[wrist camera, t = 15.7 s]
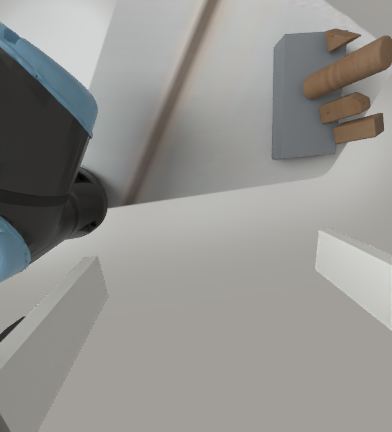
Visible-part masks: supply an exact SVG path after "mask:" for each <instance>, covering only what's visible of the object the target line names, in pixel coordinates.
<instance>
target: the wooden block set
mask: <svg viewBox="0 0 392 432" xmlns="http://www.w3.org/2000/svg"><path fill="white" fill-rule="evenodd" d="M325 34H326V41H327V48H328V52H331V51H334V50H337V49H339V48H341V47H343V46H344V45H346V44H348V43H349V42H351V41H353V40H355V39H356V38H358V37H360V36H361V35H360V34H356V33H352V32H348V31H344V30H340V29H332V30H329V31H326V32H325ZM391 63H392V39H391V37H389V36H383V37H381V38H379V39H377V40H375V41H373V42H371V43H369V44H368V45H366V46H364V47H362V48H360V49H358V50H356V51H354V52H352V53H351V54H349V55H347V56H345V57H343V58H341V59H339V60H337V61H335V62H334V63H332V64H330V65H328V66H326V67H324V68H322V69H320V70H318V71H317V72H315V73H313V74H311V75H309V76H308V77H307V78H306V79H305V81H304V84H303V91H304V94H305V96H306V97H307V98H308V99H315V98H318V97H320V96H322V95H325V94H327V93H330V92H332V91H335V90H337V89H340V88H342V87H344V86H347V85H349V84H352V83H354V82H357V81H359V80H361V79H364V78H366V77H369V76H371V75H374V74H376V73H379V72H381V71H383V70H386V69H387V68H388V67H390V65H391ZM368 108H370V99H369V97H367V96H365V95H363V94H361V93H359V92H354V93H352V94H349V95H346V96H344V97H341V98H338V99H335V100H333V101H330V102H328V103H326V104H324V105H322V106H320V107H319V112H320V117H321V123H322V124H324V123H328V122H332V121H335V120H339V119H342V118H346V117H349V116H353V115H356V114H360V113H362V112H363V111H365V110H367V109H368ZM333 131H334V137H335V143H336V144H339V143H345V142H350V141H356V140H361V139H367V138H372V137H376V136H377V135H379V134H380V133H381V132H383V131H384V123H383V113H378V114H375V115H371V116H367V117H363V118H359V119H356V120H352V121H348V122H344V123H341V124H340V125H338V126H336V127H335V128H334V129H333Z"/></svg>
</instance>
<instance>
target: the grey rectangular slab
mask: <svg viewBox="0 0 392 432" xmlns="http://www.w3.org/2000/svg"><path fill="white" fill-rule="evenodd" d="M345 31H348V30H345ZM345 53H346V45H344V46H343V47H341V48H339V49H337V50H334V51H331V52H328V48H327V41H326V34H325V32H313V33H297V34H285V35H284V36H283V37H282V39H281V40H280V41H279V42H278V43H277V45H276V46H275V47H274V71H273V126H272V159H286V158H296V157H306V156H316V155H326V154H335V148H336V143H335V137H334V131H333V129H334V128H335V127H336V126H338V120H335V121H332V122H328V123H324V124H322V123H321V117H320V112H319V107H320V106H322V105H324V104H326V103H328V102H330V101H333V100H335V99H338V98H341V91H342V88H340V89H337V90H335V91H332V92H330V93H327V94H325V95H322V96H320V97H318V98H315V99H308V98H307V97H306V96H305V94H304V91H303V84H304V81H305V79H306V78H307V77H308V76H309V75H311V74H313V73H315V72H317V71H318V70H320V69H322V68H324V67H326V66H328V65H330V64H332V63H334V62H335V61H337V60H339V59H341V58H343V57H345Z"/></svg>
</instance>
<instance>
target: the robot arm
mask: <svg viewBox="0 0 392 432" xmlns="http://www.w3.org/2000/svg"><path fill="white" fill-rule="evenodd" d="M97 113H98V107H97V104H96V101H95V99H94V98H93V96H92V95H91V93H90V92H89V91H88V90H87V89H86V88H85V87H84V86H83V85H82V84H81V83H80V82H79V81H78V80H77V79H76V78H75V77H73V76H72V75H71V74H70V73H69V72H67V71H66V70H65V69H64V68H63V67H61V66H60V65H59V64H58V63H56V62H55V61H54V60H53V59H51V58H50V57H49V56H47V55H46V54H45V53H43V52H42V51H41V50H40V49H38V48H37V47H35V46H34V45H33V44H31V43H30V42H28V41H27V40H26V39H23V38H20V37H19V36H18V35H17V34H16V33H15V32H13V31H12V30H10V29H9V28H7V27H6V26H5V25H4V24H2V23H1V22H0V282H2V281H4V280H6V279H8V278H9V277H11V276H13V275H15V274H17V273H19V272H22V271H23V270H24V269H26V267H28V265H30V264H31V263H32V262H34V261H35V260H37V259H38V258H40V257H41V256H42V255H44V254H45V253H47V252H48V251H49V250H51V249H52V248H54V247H55V246H57V245H58V244H59V243H61V242H62V241H64V240H66V239H73V238H78V237H82V236H85V235H87V234H89V233H91V232H92V231H93V230H94V229H96V228H97V227H98V226H99V225H100V224H101V223H102V221H103V220H104V218H105V216H106V213H107V206H108V203H107V197H106V193H105V191H104V189H103V187H102V185H101V184H100V182H99V181H98V180H97V179H96V178H95V177H94V176H93V175H92V174H91V173H89V172H88V171H86V170H85V169H83V168H80V166H81V163H82V160H83V157H84V154H85V151H86V149H87V146H88V143H89V140H90V139H92V137H93V134H92V130H93V127H94V124H95V120H96V117H97ZM315 270H317V271H318V272H319V273H320V274H322V275H323V276H324V277H325V278H327V279H328V280H329V281H330V282H332V283H333V284H334V285H335V286H337V287H338V288H339V289H340V290H342V291H343V292H344V293H345V294H347V295H348V296H349V297H350V298H352V299H353V300H354V301H355V302H357V303H358V304H359V305H360V306H362V307H363V308H364V309H365V310H367V311H368V312H369V313H370V314H371V315H373V316H374V317H375V318H376V319H378V320H379V321H380V322H382V323H383V324H384V325H386V327H388V328H389V329H390V330H391V331H392V255H391V254H388V253H386V252H384V251H382V250H379V249H377V248H375V247H373V246H370V245H368V244H366V243H364V242H361V241H359V240H357V239H355V238H352V237H350V236H348V235H346V234H343V233H341V232H339V231H337V230H334V229H332V228H327V229H319V234H318V244H317V255H316V266H315ZM107 298H108V293H107V289H106V286H105V281H104V278H103V274H102V270H101V266H100V262H99V259H98V256H93V257H85V258H83V259H82V260H81V261H80V262H79V263H78V264H77V265H76V266H75V267H74V268H73V269H72V270H71V271H70V272H69V273H68V274H67V275H66V276H65V278H63V279H62V281H61V282H59V284H58V285H57V286H56V287H55V288H54V289H53V290H52V291H51V292H50V293H49V294H48V295H47V296H46V297H45V298H44V299H43V300H42V301H41V302H40V303H39V304H38V305H37V306H36V307H35V308H34V309H33V310H32V311H31V312H30V313H29V314H28V315H27V316H25V317H22V318H21V319H19V320H18V321H16V322H15V323H14V324H12V325H11V326H9V327H8V328H7V329H5V330H4V331H3V332H2V333H1V334H0V432H38V430H39V428H40V426H41V424H42V423H43V421H44V419H45V417H46V415H47V413H48V411H49V409H50V407H51V405H52V404H53V402H54V400H55V398H56V396H57V394H58V392H59V390H60V388H61V386H62V384H63V382H64V381H65V379H66V377H67V375H68V373H69V371H70V369H71V367H72V365H73V363H74V361H75V360H76V358H77V356H78V354H79V352H80V350H81V348H82V346H83V344H84V342H85V340H86V338H87V336H88V335H89V333H90V331H91V329H92V327H93V325H94V323H95V321H96V319H97V317H98V315H99V314H100V312H101V310H102V308H103V306H104V304H105V302H106V300H107Z"/></svg>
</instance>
